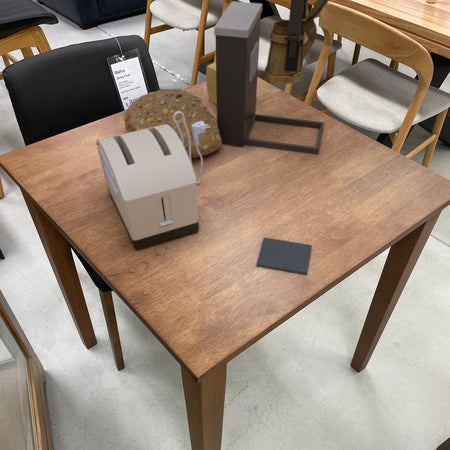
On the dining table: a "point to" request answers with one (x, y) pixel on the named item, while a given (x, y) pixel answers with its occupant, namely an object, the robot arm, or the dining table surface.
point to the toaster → (153, 181)
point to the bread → (163, 114)
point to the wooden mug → (279, 47)
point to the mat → (284, 256)
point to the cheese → (211, 82)
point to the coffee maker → (245, 80)
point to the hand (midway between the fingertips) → (293, 63)
